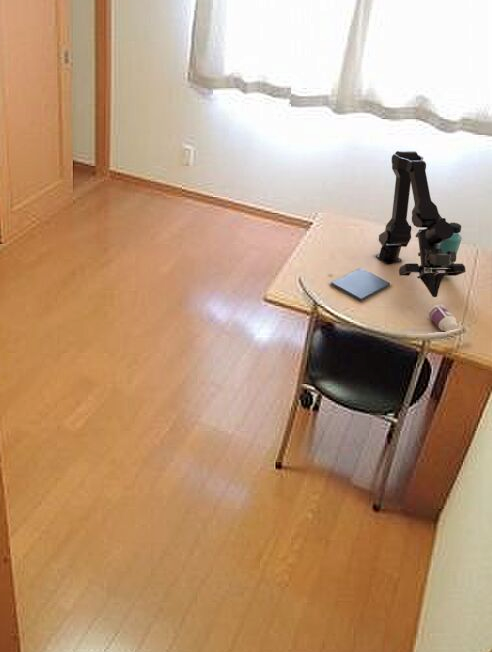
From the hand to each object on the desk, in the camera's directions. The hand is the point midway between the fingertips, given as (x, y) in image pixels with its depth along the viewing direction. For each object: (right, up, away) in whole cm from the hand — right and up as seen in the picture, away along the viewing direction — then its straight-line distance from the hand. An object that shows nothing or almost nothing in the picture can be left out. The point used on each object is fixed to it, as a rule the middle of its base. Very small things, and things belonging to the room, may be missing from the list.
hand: (434, 296), depth 201 cm
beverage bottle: (+13, +6, +25) cm, 29 cm away
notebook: (-17, +3, +18) cm, 25 cm away
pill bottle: (+1, -4, +2) cm, 5 cm away
